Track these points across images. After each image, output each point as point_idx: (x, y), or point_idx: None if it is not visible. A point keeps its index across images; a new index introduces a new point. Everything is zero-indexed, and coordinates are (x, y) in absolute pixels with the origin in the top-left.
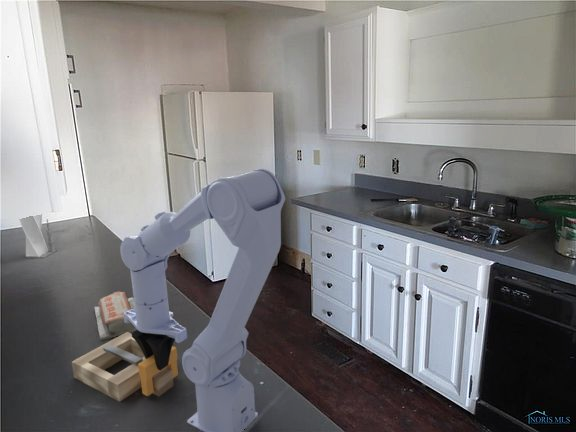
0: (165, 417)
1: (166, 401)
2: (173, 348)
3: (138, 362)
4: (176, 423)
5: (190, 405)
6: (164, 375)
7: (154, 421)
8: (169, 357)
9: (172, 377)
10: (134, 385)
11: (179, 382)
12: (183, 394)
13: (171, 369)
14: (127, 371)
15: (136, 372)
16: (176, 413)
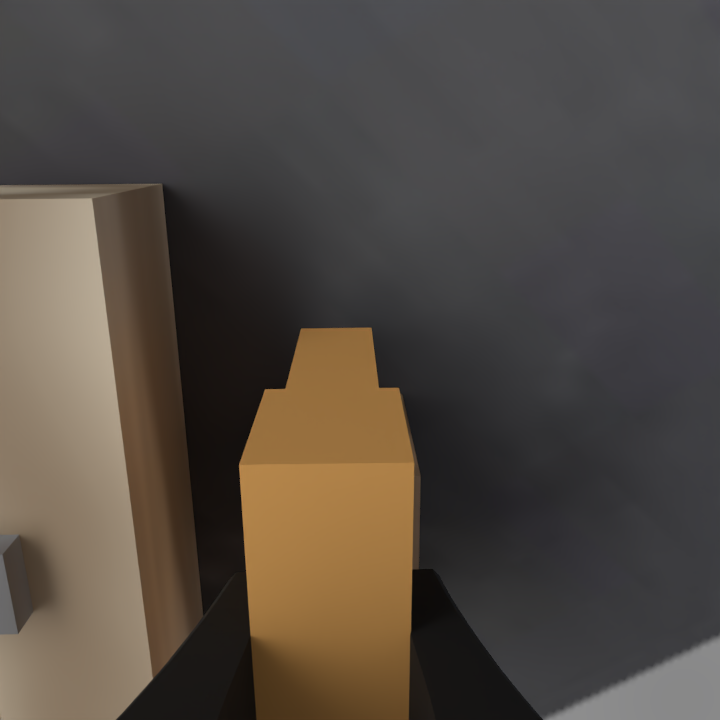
0: (580, 622)
1: (470, 523)
2: (389, 502)
3: (21, 593)
4: (684, 622)
5: (662, 466)
6: (417, 565)
7: (542, 675)
8: (466, 621)
9: (410, 438)
10: (183, 627)
11: (388, 319)
12: (529, 408)
13: (415, 479)
14: (63, 707)
15: (148, 674)
16: (623, 566)
